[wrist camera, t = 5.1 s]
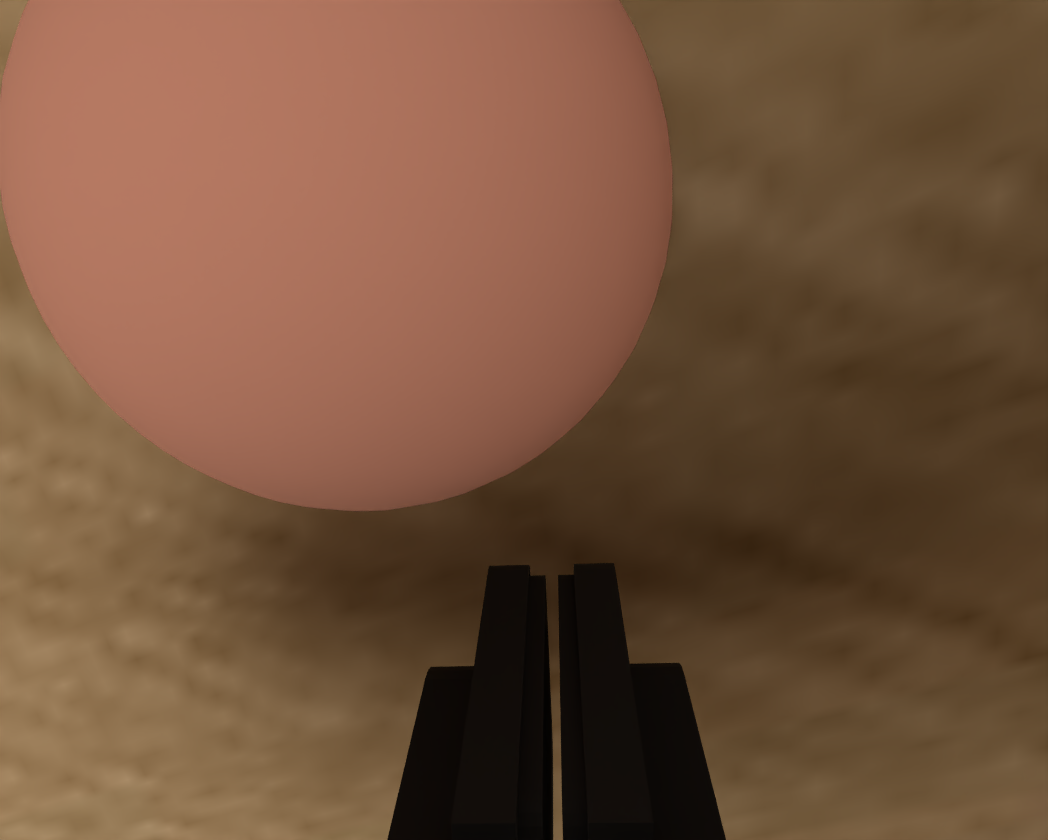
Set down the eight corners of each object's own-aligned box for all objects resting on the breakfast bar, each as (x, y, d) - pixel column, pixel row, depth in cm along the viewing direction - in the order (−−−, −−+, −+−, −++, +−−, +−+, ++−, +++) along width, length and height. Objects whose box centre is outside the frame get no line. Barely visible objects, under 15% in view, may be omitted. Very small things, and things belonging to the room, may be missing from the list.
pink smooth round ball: (720, 645, 5) (721, 308, 9) (441, -608, 2) (628, -234, 7) (100, 659, 7) (352, 372, 11) (-444, -18, 4) (169, -34, 9)
